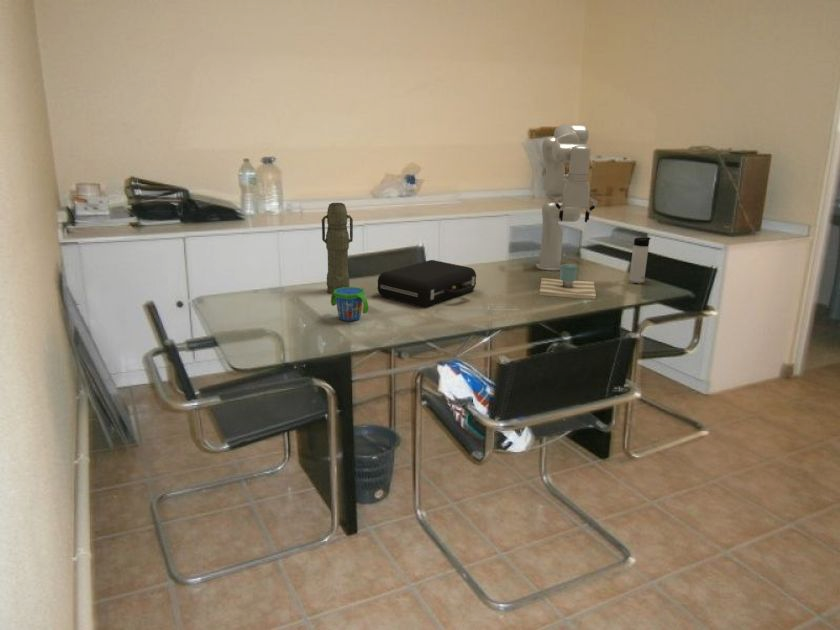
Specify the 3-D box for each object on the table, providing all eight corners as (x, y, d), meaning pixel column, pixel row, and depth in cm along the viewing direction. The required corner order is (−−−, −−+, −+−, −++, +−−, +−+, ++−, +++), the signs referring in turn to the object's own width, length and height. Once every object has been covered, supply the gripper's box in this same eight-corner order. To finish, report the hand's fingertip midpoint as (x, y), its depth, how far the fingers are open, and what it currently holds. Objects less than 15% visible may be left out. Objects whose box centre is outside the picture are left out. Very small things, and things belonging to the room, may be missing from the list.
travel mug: (646, 284, 284) (652, 239, 278) (631, 284, 284) (636, 238, 278) (642, 280, 290) (648, 236, 284) (627, 280, 290) (632, 235, 284)
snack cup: (323, 316, 231) (322, 288, 227) (346, 310, 238) (345, 283, 235) (353, 327, 221) (352, 298, 217) (375, 320, 228) (375, 292, 225)
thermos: (320, 289, 264) (319, 202, 253) (349, 287, 268) (348, 201, 257) (326, 295, 256) (324, 205, 245) (355, 293, 260) (354, 204, 249)
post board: (541, 281, 284) (542, 260, 282) (593, 285, 280) (595, 263, 277) (539, 295, 264) (541, 272, 261) (595, 299, 260) (598, 276, 257)
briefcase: (437, 313, 238) (438, 287, 235) (373, 297, 256) (373, 272, 253) (491, 293, 265) (493, 269, 262) (429, 280, 284) (430, 257, 281)
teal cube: (562, 281, 267) (564, 267, 266) (557, 277, 274) (559, 263, 272) (578, 281, 268) (579, 267, 266) (572, 277, 274) (574, 263, 272)
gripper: (555, 178, 256) (551, 221, 262) (601, 180, 253) (596, 224, 259) (555, 175, 263) (551, 218, 269) (599, 178, 260) (594, 220, 266)
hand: (573, 221), depth 264 cm, fingers open, 9 cm apart
